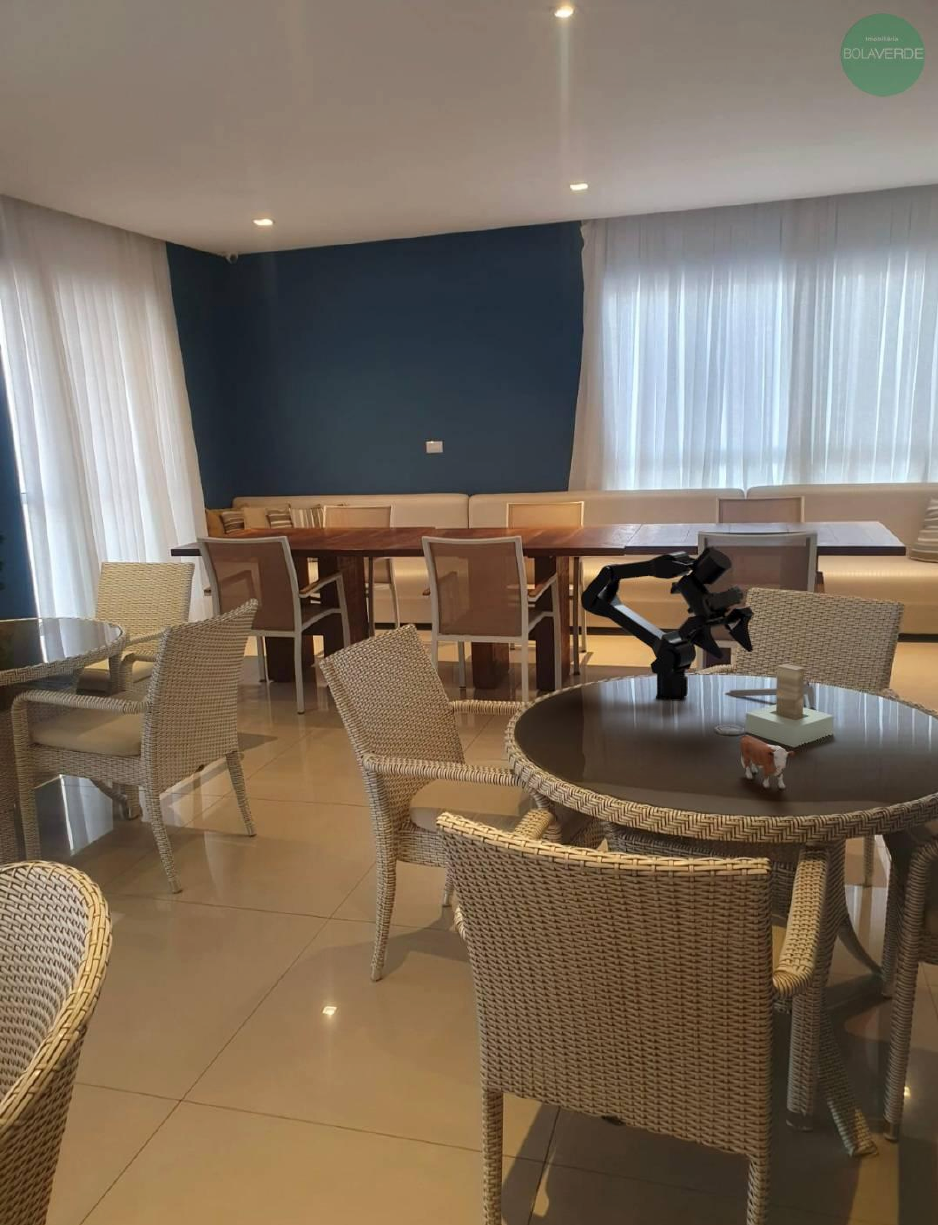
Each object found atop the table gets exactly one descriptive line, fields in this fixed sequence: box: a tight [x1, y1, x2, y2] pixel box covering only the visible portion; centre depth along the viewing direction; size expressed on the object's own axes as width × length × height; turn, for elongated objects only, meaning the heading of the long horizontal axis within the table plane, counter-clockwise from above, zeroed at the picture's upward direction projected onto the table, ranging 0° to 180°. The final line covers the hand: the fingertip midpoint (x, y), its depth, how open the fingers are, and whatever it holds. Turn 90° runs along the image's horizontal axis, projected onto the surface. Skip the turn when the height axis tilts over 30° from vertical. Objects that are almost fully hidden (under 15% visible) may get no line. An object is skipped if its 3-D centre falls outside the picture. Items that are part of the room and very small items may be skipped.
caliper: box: [724, 680, 815, 709], centre depth 200 cm, size 20×1×6 cm, turn 50°
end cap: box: [744, 704, 835, 748], centre depth 178 cm, size 12×12×4 cm
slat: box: [775, 663, 805, 720], centre depth 177 cm, size 2×4×13 cm, turn 33°
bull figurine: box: [739, 734, 795, 790], centre depth 153 cm, size 4×13×8 cm, turn 14°
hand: (736, 654), depth 189 cm, fingers open, 9 cm apart
